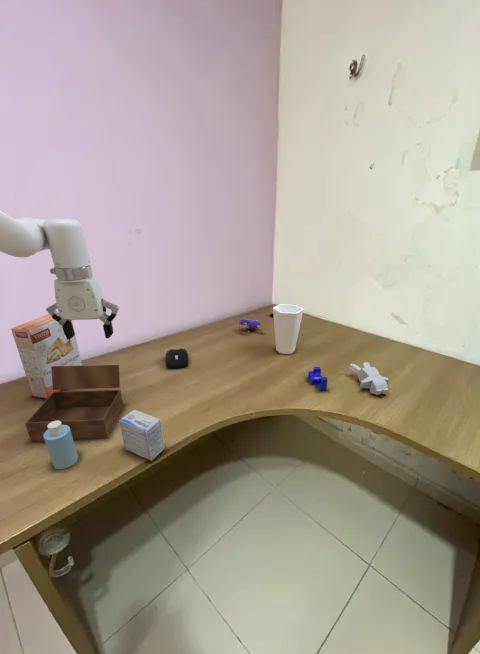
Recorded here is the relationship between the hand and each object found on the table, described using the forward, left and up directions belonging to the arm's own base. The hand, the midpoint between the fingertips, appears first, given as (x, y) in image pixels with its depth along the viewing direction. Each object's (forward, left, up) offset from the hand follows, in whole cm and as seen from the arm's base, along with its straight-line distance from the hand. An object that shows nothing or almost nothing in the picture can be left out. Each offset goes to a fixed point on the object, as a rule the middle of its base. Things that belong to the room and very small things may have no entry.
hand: (90, 337), depth 83 cm
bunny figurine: (+82, -1, -18) cm, 84 cm away
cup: (+59, +25, -18) cm, 66 cm away
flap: (0, -6, -9) cm, 11 cm away
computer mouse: (+19, +18, -18) cm, 32 cm away
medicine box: (+18, -25, -18) cm, 35 cm away
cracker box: (-13, +4, -18) cm, 23 cm away
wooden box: (0, -14, -18) cm, 22 cm away
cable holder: (+65, 0, -18) cm, 67 cm away
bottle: (+2, -27, -18) cm, 32 cm away
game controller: (+47, +44, -18) cm, 67 cm away
